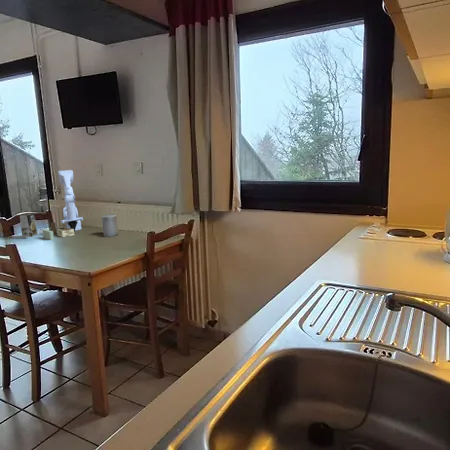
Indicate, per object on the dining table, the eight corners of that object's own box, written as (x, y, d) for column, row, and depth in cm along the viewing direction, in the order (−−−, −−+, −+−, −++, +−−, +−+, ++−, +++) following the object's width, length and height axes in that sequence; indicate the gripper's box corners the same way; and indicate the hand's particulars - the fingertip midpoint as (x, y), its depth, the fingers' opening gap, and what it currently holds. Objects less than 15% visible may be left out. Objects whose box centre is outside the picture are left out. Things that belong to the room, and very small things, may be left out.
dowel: (55, 234, 286) (54, 222, 284) (57, 235, 284) (56, 222, 282) (51, 235, 284) (49, 222, 282) (53, 236, 282) (51, 223, 280)
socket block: (69, 233, 283) (68, 227, 282) (74, 234, 278) (73, 229, 277) (57, 235, 277) (57, 229, 277) (62, 237, 272) (62, 231, 271)
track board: (71, 233, 287) (70, 224, 286) (80, 236, 278) (79, 226, 277) (41, 239, 273) (40, 229, 272) (50, 242, 263) (48, 232, 262)
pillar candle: (114, 233, 284) (111, 211, 281) (121, 234, 277) (118, 213, 274) (101, 235, 278) (98, 214, 275) (107, 237, 270) (105, 215, 268)
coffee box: (31, 238, 277) (28, 215, 273) (22, 238, 277) (19, 215, 274) (37, 235, 286) (35, 212, 282) (28, 235, 286) (25, 213, 283)
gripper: (63, 214, 271) (65, 234, 273) (84, 211, 281) (86, 230, 283) (58, 213, 275) (61, 233, 278) (79, 210, 286) (81, 229, 288)
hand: (73, 232), depth 281 cm, fingers closed
